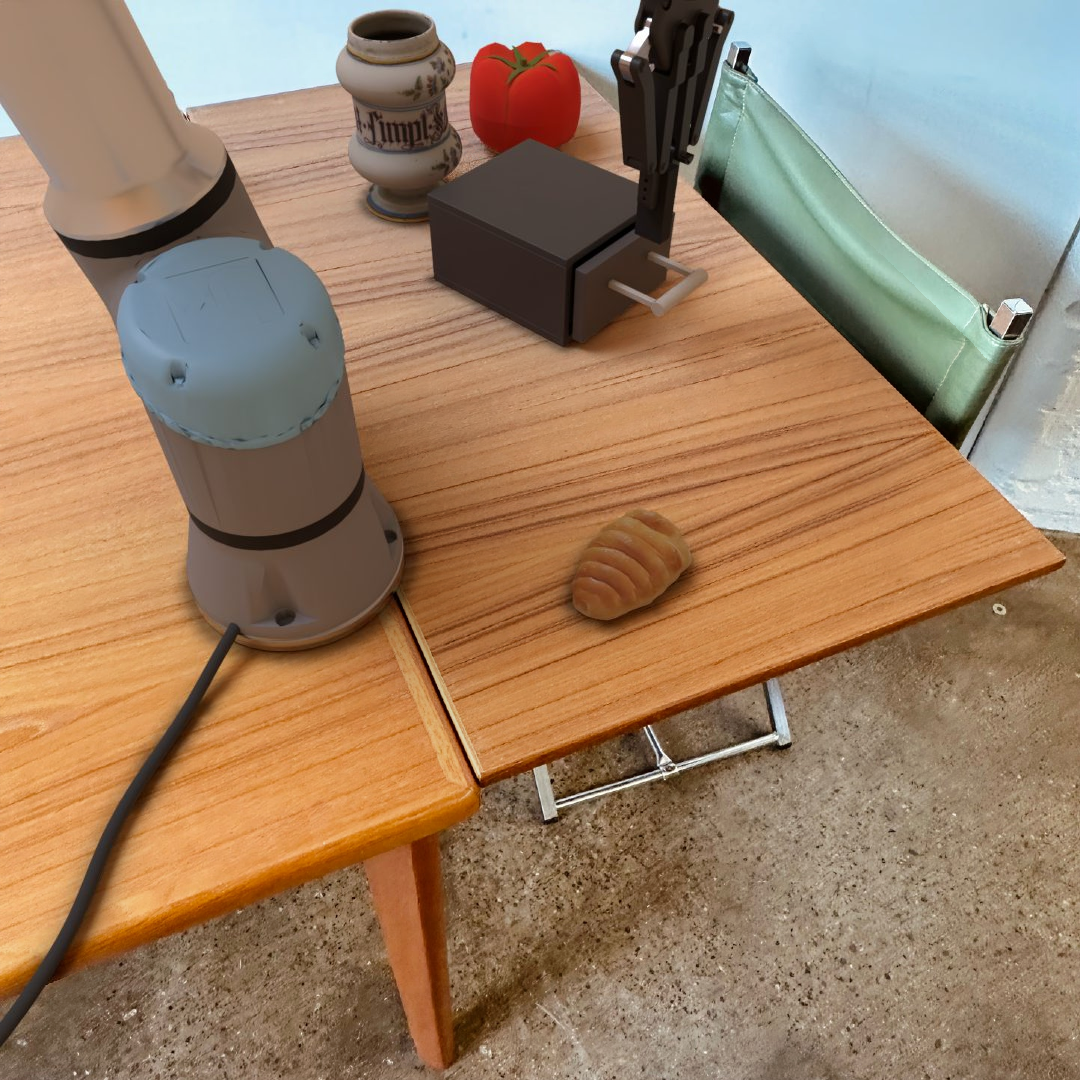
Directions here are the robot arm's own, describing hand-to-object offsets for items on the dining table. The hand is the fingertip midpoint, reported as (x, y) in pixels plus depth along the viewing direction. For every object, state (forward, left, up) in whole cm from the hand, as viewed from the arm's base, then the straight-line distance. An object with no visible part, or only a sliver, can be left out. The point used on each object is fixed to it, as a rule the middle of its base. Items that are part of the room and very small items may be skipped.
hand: (652, 235), depth 79 cm
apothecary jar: (+2, +33, -10) cm, 34 cm away
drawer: (0, +6, -9) cm, 11 cm away
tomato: (+20, +32, -10) cm, 39 cm away
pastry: (-25, -17, -10) cm, 32 cm away
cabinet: (0, +12, -10) cm, 15 cm away
